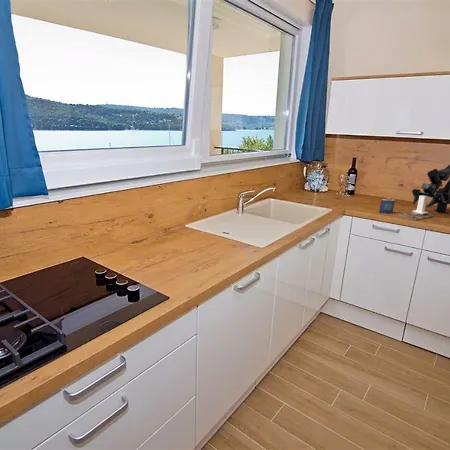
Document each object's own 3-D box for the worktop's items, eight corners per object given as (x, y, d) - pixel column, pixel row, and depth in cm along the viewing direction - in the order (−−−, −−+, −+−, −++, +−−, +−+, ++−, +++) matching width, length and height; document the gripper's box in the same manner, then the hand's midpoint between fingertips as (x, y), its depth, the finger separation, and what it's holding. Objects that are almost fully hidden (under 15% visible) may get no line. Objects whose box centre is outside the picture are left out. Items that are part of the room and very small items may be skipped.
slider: (417, 210, 220) (421, 194, 217) (427, 213, 215) (431, 196, 211) (412, 211, 217) (415, 195, 214) (422, 214, 212) (425, 197, 209)
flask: (391, 212, 222) (394, 196, 219) (393, 213, 219) (396, 197, 216) (378, 212, 221) (380, 196, 218) (380, 213, 218) (383, 197, 215)
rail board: (415, 212, 224) (416, 208, 223) (433, 216, 215) (434, 212, 214) (397, 215, 214) (398, 211, 214) (415, 220, 205) (416, 216, 204)
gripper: (416, 176, 219) (403, 194, 217) (446, 181, 204) (432, 200, 202) (420, 187, 225) (407, 204, 223) (450, 192, 210) (436, 211, 208)
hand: (420, 205), depth 214 cm, fingers open, 9 cm apart
